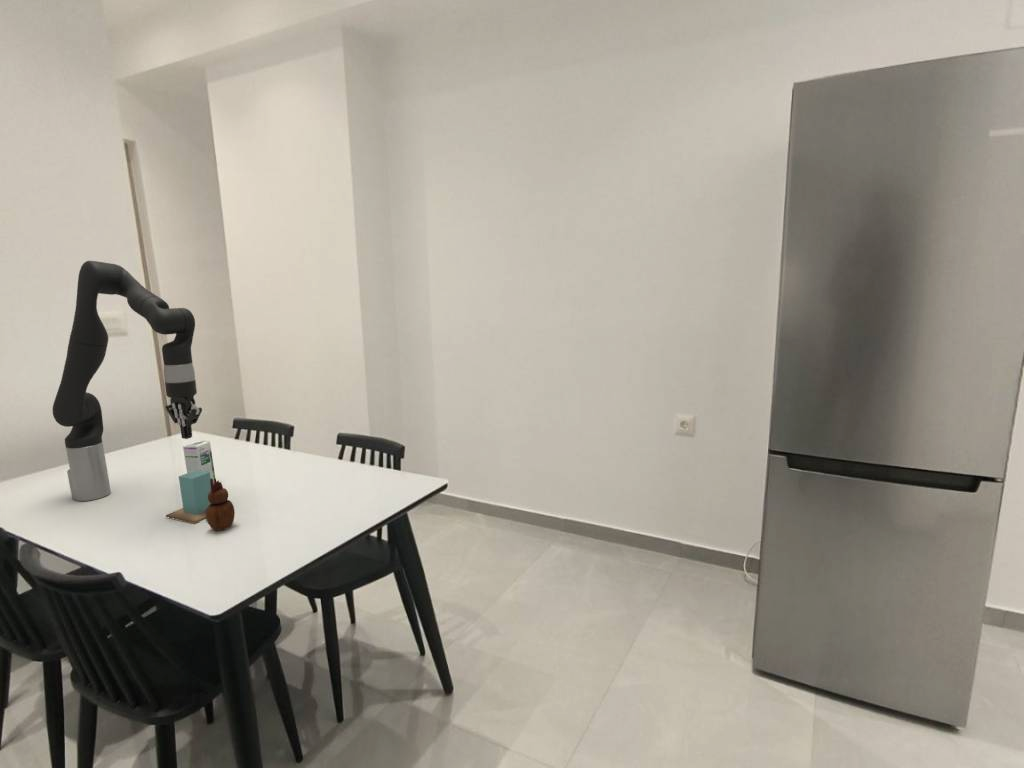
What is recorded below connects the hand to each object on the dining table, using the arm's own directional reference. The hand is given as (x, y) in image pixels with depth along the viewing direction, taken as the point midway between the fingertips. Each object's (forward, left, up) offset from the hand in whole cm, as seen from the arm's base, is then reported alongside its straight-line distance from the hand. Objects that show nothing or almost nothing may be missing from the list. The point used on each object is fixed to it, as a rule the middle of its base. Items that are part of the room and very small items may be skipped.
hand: (187, 438), depth 162 cm
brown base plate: (+2, -2, -22) cm, 22 cm away
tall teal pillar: (+2, -2, -21) cm, 22 cm away
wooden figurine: (+15, -12, -22) cm, 29 cm away
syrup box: (-11, +20, -22) cm, 32 cm away
